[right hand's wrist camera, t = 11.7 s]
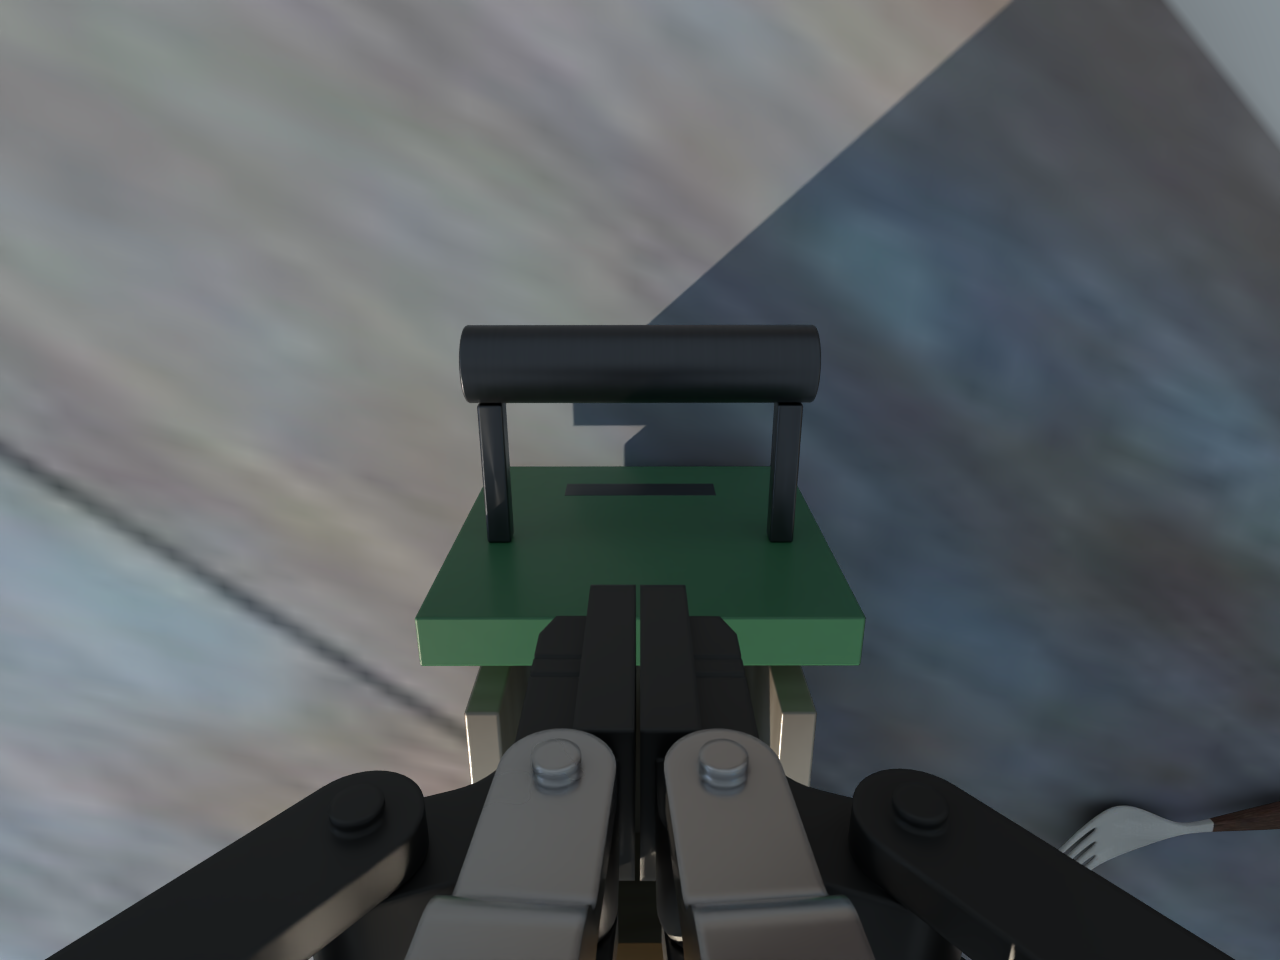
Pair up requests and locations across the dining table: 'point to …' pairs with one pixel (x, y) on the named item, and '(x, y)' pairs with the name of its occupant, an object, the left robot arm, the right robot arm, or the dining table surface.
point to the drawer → (641, 533)
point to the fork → (1156, 830)
